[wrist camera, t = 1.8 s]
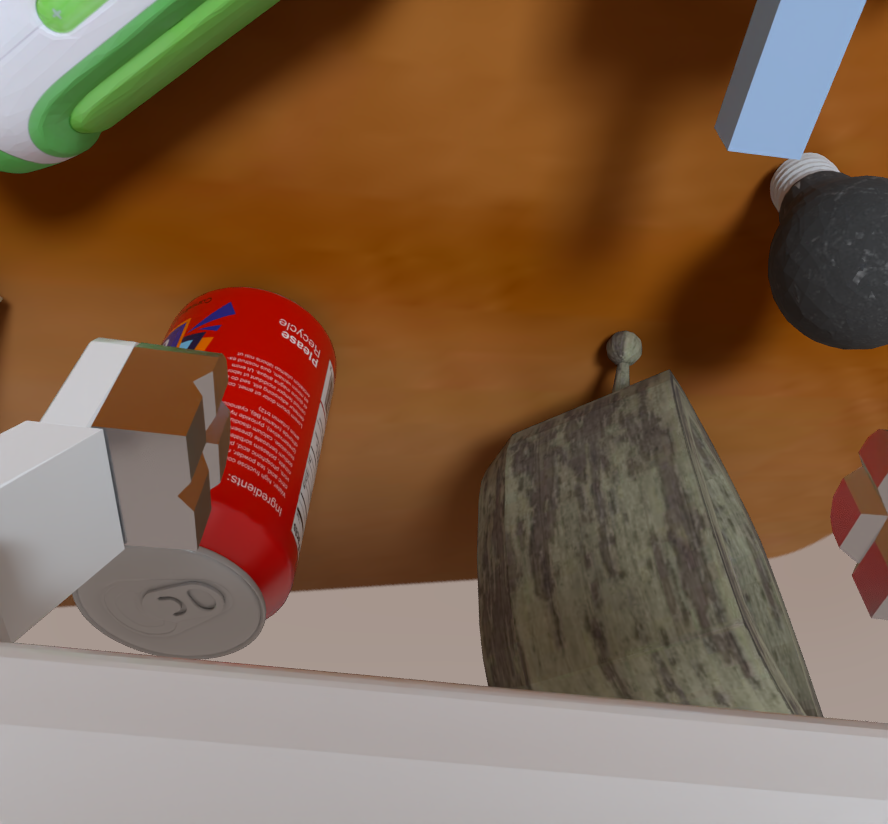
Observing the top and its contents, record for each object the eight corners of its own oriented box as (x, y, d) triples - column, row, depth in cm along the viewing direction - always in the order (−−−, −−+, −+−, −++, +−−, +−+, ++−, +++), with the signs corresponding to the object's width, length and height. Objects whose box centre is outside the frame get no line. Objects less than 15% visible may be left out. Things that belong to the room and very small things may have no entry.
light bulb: (693, 190, 34) (757, 331, 26) (803, 72, 30) (913, 194, 23) (788, 259, 36) (874, 410, 28) (901, 156, 32) (1031, 294, 25)
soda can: (365, 388, 41) (322, 652, 29) (225, 424, 43) (133, 686, 31) (295, 254, 36) (212, 508, 25) (141, 302, 38) (-3, 559, 26)
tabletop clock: (745, 489, 45) (945, 1070, 26) (591, 542, 48) (667, 1094, 29) (641, 289, 37) (820, 916, 18) (465, 370, 40) (457, 974, 21)
